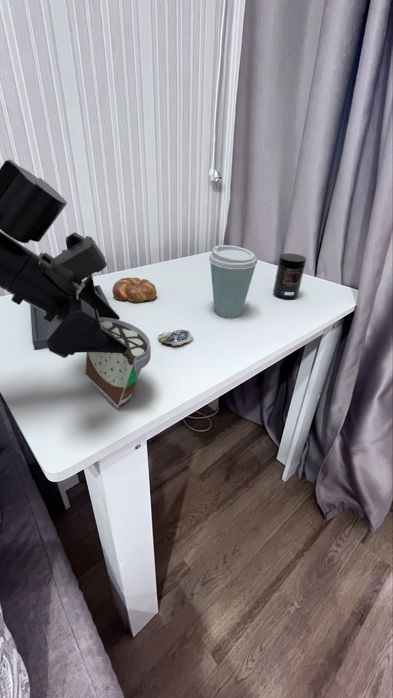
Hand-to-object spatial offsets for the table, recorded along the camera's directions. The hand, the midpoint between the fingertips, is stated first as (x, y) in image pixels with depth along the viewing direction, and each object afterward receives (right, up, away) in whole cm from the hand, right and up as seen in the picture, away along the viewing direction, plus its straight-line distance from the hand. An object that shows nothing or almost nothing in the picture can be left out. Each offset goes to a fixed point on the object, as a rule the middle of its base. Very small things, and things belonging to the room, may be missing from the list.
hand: (121, 334), depth 49 cm
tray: (-17, +5, +26) cm, 31 cm away
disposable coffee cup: (+19, +6, +31) cm, 36 cm away
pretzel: (-5, +12, +37) cm, 39 cm away
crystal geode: (+7, 0, +20) cm, 21 cm away
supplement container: (+35, +12, +41) cm, 55 cm away
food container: (-2, -8, +5) cm, 10 cm away
